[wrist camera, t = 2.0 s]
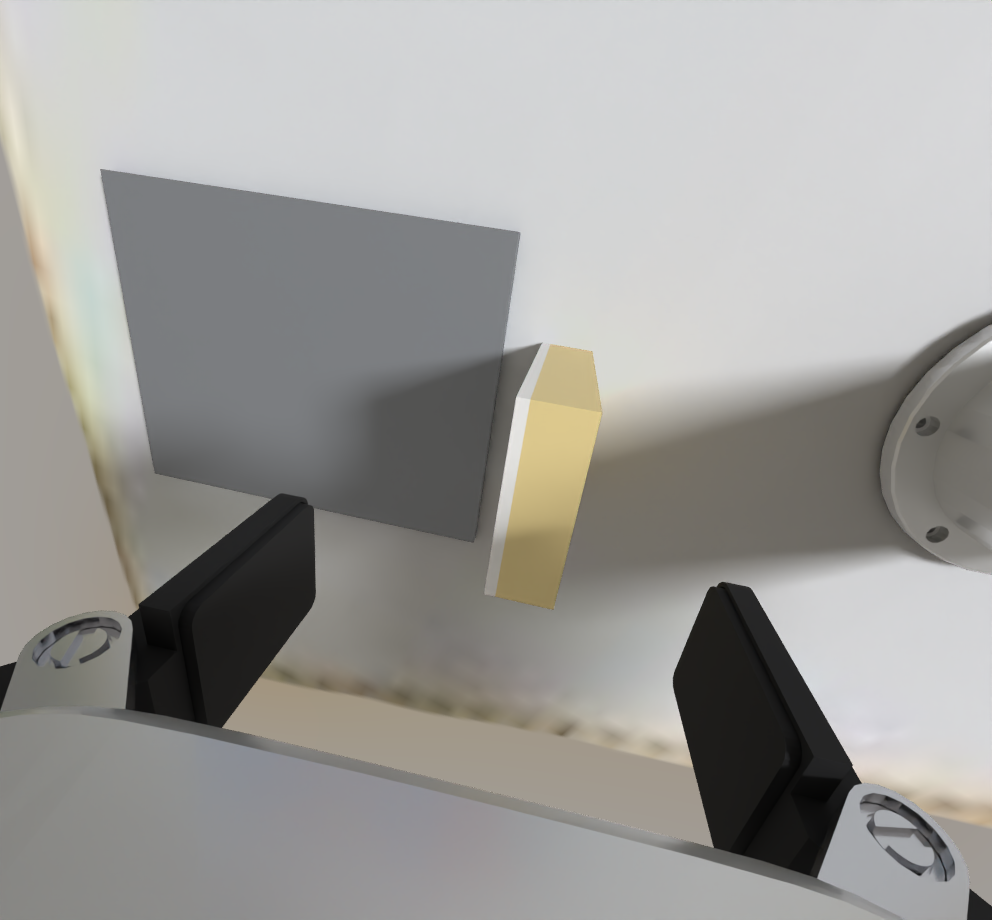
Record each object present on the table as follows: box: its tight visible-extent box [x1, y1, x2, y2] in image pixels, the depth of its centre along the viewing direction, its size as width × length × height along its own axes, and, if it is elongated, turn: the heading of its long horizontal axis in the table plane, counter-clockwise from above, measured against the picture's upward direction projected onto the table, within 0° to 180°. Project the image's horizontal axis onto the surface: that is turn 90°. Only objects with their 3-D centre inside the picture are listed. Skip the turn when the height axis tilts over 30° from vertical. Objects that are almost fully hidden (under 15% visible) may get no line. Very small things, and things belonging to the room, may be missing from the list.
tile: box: [484, 343, 602, 610], centre depth 19 cm, size 2×7×10 cm, turn 172°
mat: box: [100, 169, 520, 543], centre depth 24 cm, size 20×16×1 cm
